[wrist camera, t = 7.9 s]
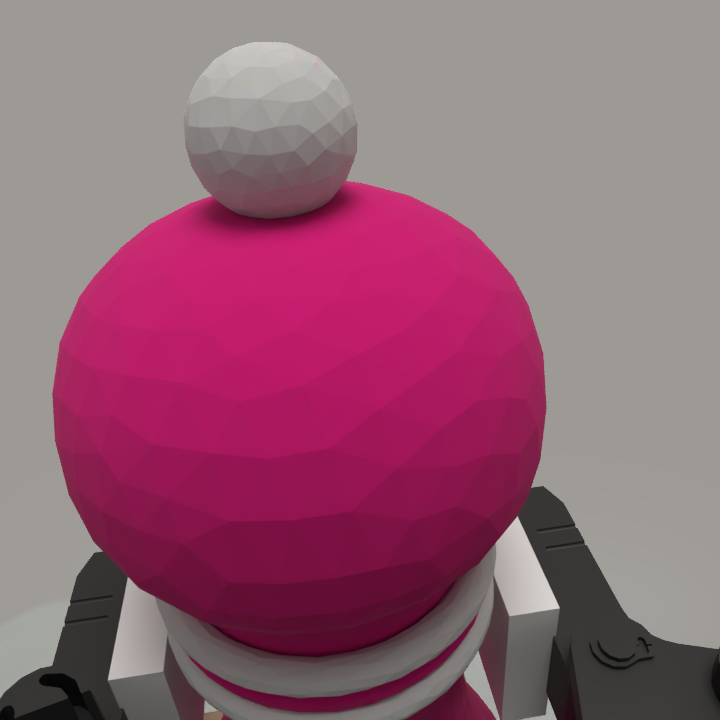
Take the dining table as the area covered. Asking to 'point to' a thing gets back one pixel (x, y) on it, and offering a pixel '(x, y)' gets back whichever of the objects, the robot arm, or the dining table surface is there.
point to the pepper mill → (303, 414)
